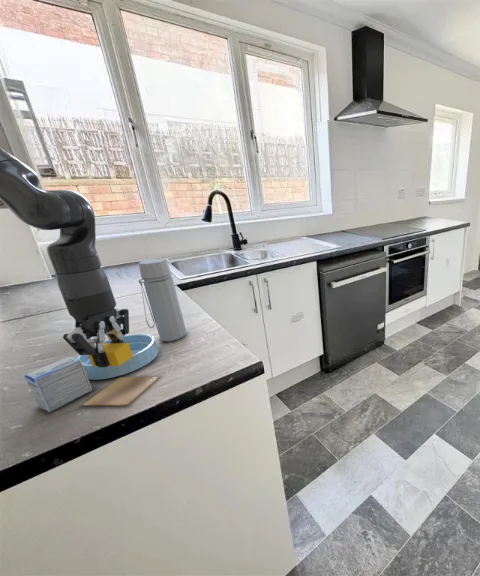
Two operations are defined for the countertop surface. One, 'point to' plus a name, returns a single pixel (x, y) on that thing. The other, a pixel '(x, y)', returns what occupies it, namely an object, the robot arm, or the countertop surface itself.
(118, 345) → the sponge
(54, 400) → the medicine box
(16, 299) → the countertop surface
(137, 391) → the mat
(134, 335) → the basin
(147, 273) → the water bottle
